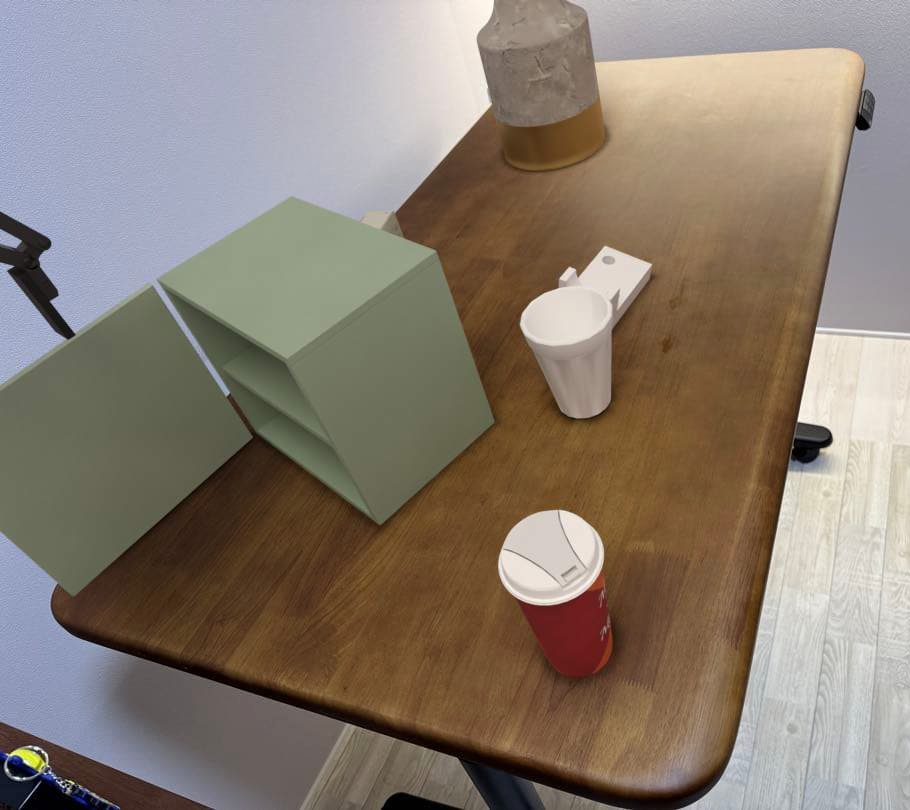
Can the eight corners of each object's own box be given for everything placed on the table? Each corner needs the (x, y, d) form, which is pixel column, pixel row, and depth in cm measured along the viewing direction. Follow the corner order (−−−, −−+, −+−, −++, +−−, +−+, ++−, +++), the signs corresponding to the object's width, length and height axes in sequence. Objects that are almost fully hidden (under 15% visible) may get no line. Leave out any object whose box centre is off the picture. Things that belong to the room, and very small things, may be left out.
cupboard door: (43, 571, 88) (-117, 428, 72) (221, 421, 102) (118, 271, 86) (73, 597, 85) (-89, 452, 69) (253, 437, 98) (152, 284, 82)
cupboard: (380, 525, 84) (286, 358, 67) (256, 433, 99) (155, 278, 82) (495, 422, 91) (436, 250, 75) (364, 351, 107) (291, 195, 90)
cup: (526, 414, 91) (500, 327, 83) (577, 363, 96) (558, 276, 87) (593, 444, 86) (573, 355, 77) (644, 389, 90) (631, 299, 82)
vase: (616, 118, 143) (590, -68, 122) (590, 169, 131) (557, -28, 110) (523, 123, 149) (484, -53, 128) (490, 172, 137) (442, -13, 117)
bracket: (604, 343, 99) (610, 300, 93) (556, 322, 101) (559, 278, 95) (648, 284, 106) (656, 240, 100) (602, 265, 108) (607, 221, 102)
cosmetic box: (395, 279, 118) (367, 208, 110) (421, 279, 117) (394, 207, 109) (378, 305, 114) (348, 234, 106) (405, 306, 113) (376, 233, 104)
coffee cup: (645, 650, 67) (623, 550, 57) (569, 710, 65) (532, 615, 55) (587, 587, 73) (558, 485, 63) (515, 640, 70) (473, 543, 60)
